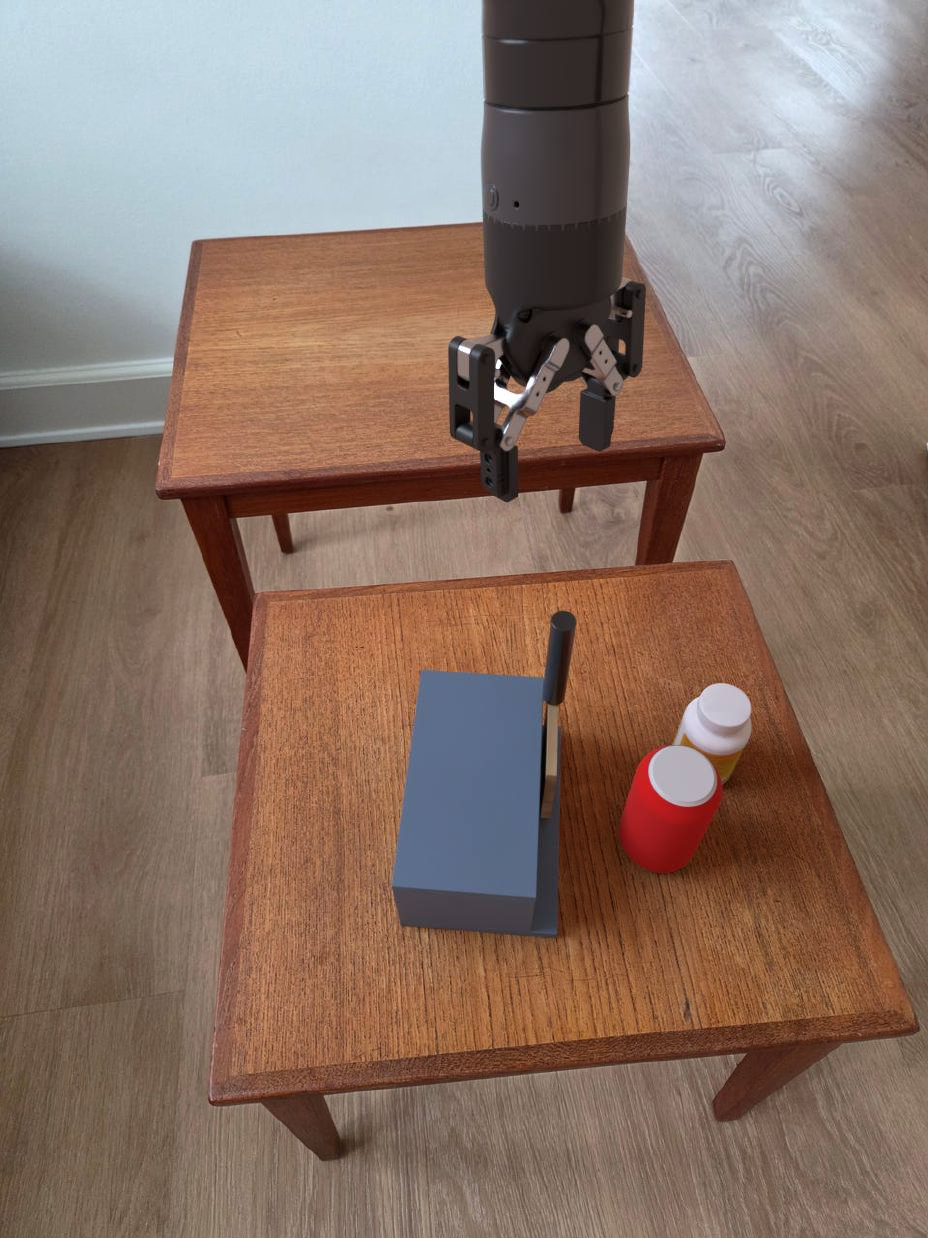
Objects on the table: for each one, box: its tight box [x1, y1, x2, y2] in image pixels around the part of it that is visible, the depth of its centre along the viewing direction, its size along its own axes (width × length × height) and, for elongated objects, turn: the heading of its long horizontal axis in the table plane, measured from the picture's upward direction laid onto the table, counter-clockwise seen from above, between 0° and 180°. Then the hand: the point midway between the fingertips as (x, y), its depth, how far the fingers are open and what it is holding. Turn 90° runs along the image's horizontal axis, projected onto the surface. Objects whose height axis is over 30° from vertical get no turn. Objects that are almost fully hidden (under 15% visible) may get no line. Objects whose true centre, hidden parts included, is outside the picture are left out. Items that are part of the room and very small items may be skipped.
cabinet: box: [390, 669, 562, 939], centre depth 67 cm, size 12×18×9 cm, turn 175°
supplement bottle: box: [671, 682, 753, 785], centre depth 70 cm, size 5×5×10 cm
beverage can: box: [618, 744, 723, 874], centre depth 65 cm, size 6×6×12 cm
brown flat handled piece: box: [540, 610, 578, 818], centre depth 65 cm, size 2×8×18 cm, turn 175°
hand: (550, 470), depth 55 cm, fingers open, 8 cm apart
